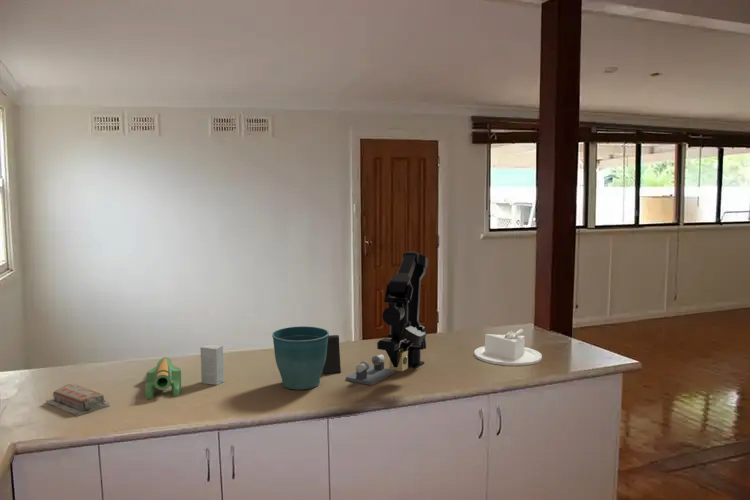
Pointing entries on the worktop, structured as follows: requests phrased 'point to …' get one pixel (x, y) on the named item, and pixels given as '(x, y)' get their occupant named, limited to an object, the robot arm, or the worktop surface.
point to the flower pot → (300, 355)
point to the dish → (507, 350)
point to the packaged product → (78, 400)
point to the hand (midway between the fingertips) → (398, 365)
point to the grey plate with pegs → (370, 371)
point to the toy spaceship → (163, 378)
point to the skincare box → (212, 364)
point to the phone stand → (332, 356)
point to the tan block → (401, 361)
